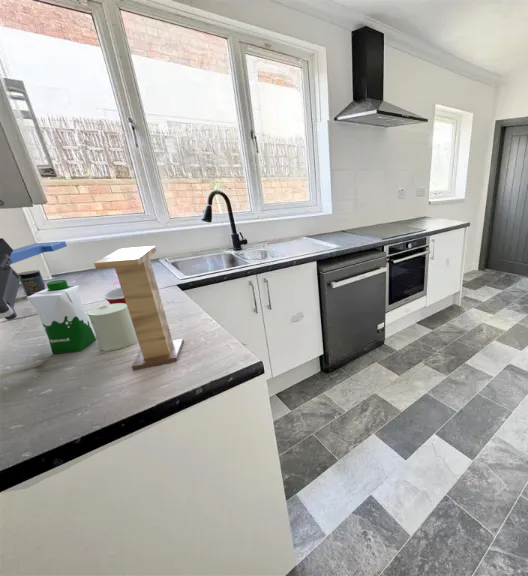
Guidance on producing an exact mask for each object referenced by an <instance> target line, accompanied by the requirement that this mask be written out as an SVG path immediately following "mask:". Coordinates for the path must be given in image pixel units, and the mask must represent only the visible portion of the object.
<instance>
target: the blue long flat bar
mask: <svg viewBox="0 0 528 576" xmlns="http://www.w3.org/2000/svg"><path fill="white" fill-rule="evenodd" d="M66 247H67V242H66V241H65V240H62V241H61V240H59V241H49V242H34V243H32V244H29V245H24V246H21V247H17V248H14V249H13V252H12V254H11V255H10V258H11V259H12V263H11V264H10V265H13V264H15V263H19V262H21V261H24V260H27V259H30V258H32V257H35V256H38V255H40V254H43V253H49V252H51V253H52V252H55V251H58V250H60V249H63V248H66Z"/></svg>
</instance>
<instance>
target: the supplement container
mask: <svg viewBox="0 0 528 576" xmlns="http://www.w3.org/2000/svg"><path fill="white" fill-rule="evenodd" d="M17 274H18V275H19V276H20V277H21V279H20V285H21V287H22V289H23V291H24V293H25V296H26V297H28V296H31V295H33V294H34V293H37V292H40V291H42V290H45V289H48V287H47V285H46V284H45V281H44V279H43V277H42V273H41V271H40V270H39V269H36V270H26V271H22V272H19V273H18V272H17Z"/></svg>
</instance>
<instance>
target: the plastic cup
mask: <svg viewBox="0 0 528 576" xmlns="http://www.w3.org/2000/svg"><path fill="white" fill-rule="evenodd" d="M102 297H103V299H105V300H106V301H107V302H108V303H109V304H116V303H125V304H126V301H125V298H124V295H123V292H122V289H121V286H119V287H117V288H114V289H111V290H109V291H106V292H105V293H104V294H103V295H102Z"/></svg>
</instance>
